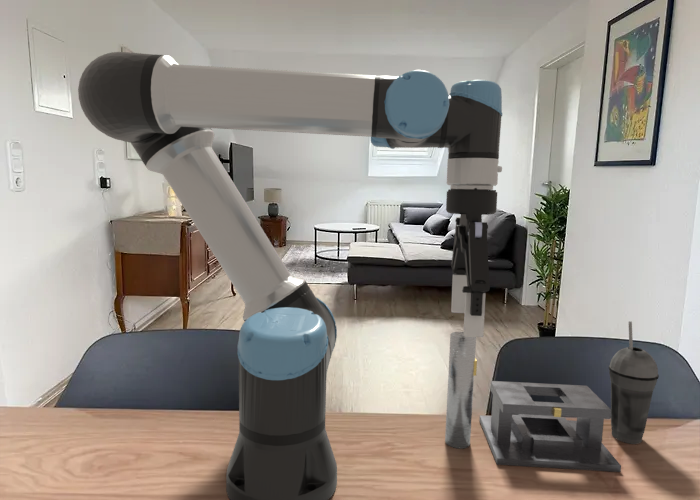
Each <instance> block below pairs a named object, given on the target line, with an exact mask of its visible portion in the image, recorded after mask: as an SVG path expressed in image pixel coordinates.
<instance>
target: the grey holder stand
mask: <svg viewBox="0 0 700 500" xmlns="http://www.w3.org/2000/svg"><path fill="white" fill-rule="evenodd" d="M489 390H490V392H491V394H492V403H491V415H479V420H478V421H479V423H480V426H481V428H482V431H483V434H484V436H485V438H486V441H487V444H488V445H489V449H490V451H491V453H492V456H493V459H494V461H495V463H496V465H498V466H499V465H500V466H502V465H503V466H515V467H533V468H534V467H535V468H547V469H567V470H580V471H581V470H582V471H583V470H584V471H585V470H586V471H597V472H600V471H601V472H610V473H611V472H614V473H622V465H621V463H620V462H619V461H618V460H617V458H616V457H615V456H614V455H613V454H612V453H611V452H610V451H609V450H608V448H607V447H606V446H605V444H604V443H603V435H604V434H603V432H604V423H605V422H604V421H605V420H611V407H609V406H608V405H607V404H606V402H604V401H603V399H601V398H600V397H599V396H598V395H597V394H596V393H595V392H594V391H593V390H592V388H590V387H589V386H588V385H579V384H578V385H577V384H560V383H559V384H558V383H542V382H541V383H538V382H522V381H521V382H519V381H498V380H490V388H489ZM531 396H544V397H559V398H560V400H561V401H563V402H555V401H554V402H553V401H552V402H551V401H534V400H533V398H532V397H531ZM566 417H568V418H576V420H572V419H571V420H569V419H567V418H566Z"/></svg>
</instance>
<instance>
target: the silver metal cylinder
mask: <svg viewBox="0 0 700 500" xmlns="http://www.w3.org/2000/svg"><path fill="white" fill-rule="evenodd" d="M449 335H450V336H449V338H450V339H449V353H448V354H449V355H448V357H449V359H448V375H447V376H448V377H447V394H446V395H447V396H446V398H447V399H446V415H445V433H444V434H445V438H444V442H445V444H446V445H447V446H449V447H452V448H454V449H458V450H459V449H460V450H461V449H467V448H469V447H470V445H471V433H472V417H473V401H474V400H473V399H474V395H473V394H474V386H475V385H474V381H475V376H477V370H478V369H477V368H478V367H477V366H478V360H477V358H476V348H477V347H476V345H477V337H464V331H453V332H450V334H449Z"/></svg>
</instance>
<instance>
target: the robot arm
mask: <svg viewBox="0 0 700 500" xmlns="http://www.w3.org/2000/svg"><path fill="white" fill-rule="evenodd" d="M77 93H78V100H79V105H80V107H81V110H82V112H83V114H84V115H85V117H86V118H87V120H88V121H89V122H90V124H91V125H92V126H93V127H94V128H95V129H97V130H98V131H99V132H101V133H103V134H104V135H106V136H107V137H109V138H111V139H115V140H118V141H121V142H125V143H130V144H131V146H132V147H133V149H134V150H135V152H136V153H137V156H138V157H139V158H140V159H141V161H142V163H143V165H144V167H146V168H147V171H149V172H152V173H153V172H154V173H157V174H160V175H162V176H163V177H164V178H165V180H166V182H167V183H168V185H169V186H170V187H171V189H172V191H173V193H174V194H175V196H176V197H177V199H178V200H179V202H180V204H181V205H182V207H183V208H184V210H185V211H186V213H187V215H188V216H189V218H190V219H191V220H192V223H193V224H194V226H195V227H196V229H197V230H198V232H199V234H200V235H201V237H202V239H203V240H204V242H205V243H206V245H207V246H208V248H209V249H210V251H211V253H212V254H213V255H214V257H215V258H216V260H217V261H218V264H219V265H220V267H221V268H222V270H223V271H224V273H225V275H226V276H227V278H228V279H229V281H230V282H231V283H232V285H233V287H234V289H235V290H236V292H237V293H238V295H239V296H240V298H241V300H242V301H243V302H244V310H243V314H242V320H243V321H244V322H243V323H242V325H241V327H240V329H239V334H238V335H239V336H238V340H237V341H238V342H237V346H236V347H237V351H236V352H237V358H238V408H239V409H238V414H239V415H238V416H239V418H238V423H239V424H238V425H239V426H238V427H239V432H238V436H237V437H236V441H235V444H234V447H233V450H232V453H231V457H230V459H229V462H228V465H227V468H226V476H225V477H226V478H225V481H226V482H225V483H226V484H225V485H226V490H225V491H226V494H227V497H228V499H229V500H330V499H331V498H332V496H333V494H334V493H335V492H336V489H337V485H338V465H337V461H336V457H335V454H334V451H333V449H332V446H331V445H332V444H331V442H330V438H329V436H328V432H327V430H326V415H327V414H326V413H327V412H326V411H327V410H326V408H327V407H326V403H327V375H328V374H327V373H328V370H329V365H330V362H331V358H332V355H333V352H334V349H335V346H336V343H337V337H338V335H337V334H338V333H337V329H338V328H337V325H336V319H335V317H334V315H333V314H334V313H333V312H332V310H331V309H330V308H329V306H328V305H327V304H326V303H325V301H323V300H321V299H320V298H318V297H316V295H315V294H314V292H313V291H312V289H311V287H310V285H309V284H308V283H307V281H306V280H305V278H301V277H296V276H294V275H292V274H291V273H290V271H289V269H288V268H287V267H286V265H285V263H284V262H283V260H282V258H281V257H280V255H279V254H278V252H277V250H276V249H275V247H274V246H273V244H272V242H271V240H270V238H268V236H267V234H266V233H265V230H264V229H263V228H262V226H261V225H260V222H259V221H258V220H257V218H256V216H255V215H254V213H253V211H252V210H251V209H250V206H248V203H247V202H246V200H245V199H244V197H243V196H242V194H241V193H240V191H239V190H238V188H237V186H236V185H235V182H234V181H233V180H232V178H231V176H230V175H229V173H228V171H227V170H226V169H225V167H224V165H223V163H222V161H220V158H219V157H218V155H217V154H216V152H215V151H214V148H213V143H214V139H215V132H214V130H213V129H217V130H218V129H219V130H236V131H237V130H240V131H256V132H257V131H258V132H260V131H261V132H262V131H263V132H272V133H273V132H274V133H275V132H278V133H291V134H292V133H295V134H297V133H298V134H315V135H328V136H329V135H331V136H334V135H335V136H350V137H369V138H370V143H371V144H372V146H374V147H377V148H389V149H392V150H394V149H397V148H398V149H399V148H401V149H402V148H405V149H406V148H408V149H409V148H411V149H412V148H413V149H415V148H423V149H424V148H437V149H443V148H444V149H445V148H447V152H448V156H447V165H446V166H447V168H446V184H447V185H448V186H450V189H448V190H447V191H446V203H445V206H446V207H445V210H446V212H447V213H448V214H453V215H459V216H456V218H455V228H454V230H455V231H454V238H453V241H454V242H453V249H452V255H451V256H452V257H451V263H450V266H451V269H452V270H451V271H452V280H451V281H452V282H451V284H452V285H451V304H450V305H451V308H450V309H451V310H450V311H451V313H455V314H464V317H463V319H464V320H463V332H464V337H476V338H484V335H485V333H484V331H485V313H486V296H487V295H486V294H487V292H489V291H490V289H491V285H490V269H489V268H490V267H489V265H490V264H489V251H488V250H489V249H488V248H489V246H488V229H489V225H488V222H485V221H484V222H483V218H482V217H483V215H486V216H489V215H495V214H496V212H497V207H498V205H497V204H498V192H497V190H496V189H494V187H496V186H497V185H498V180H499V178H498V177H499V173H502V172H503V167H502V166H501V165H499V163H500V162H499V158H500V141H501V129H502V127H501V126H502V117H503V112H502V111H503V107H502V106H503V105H502V102H503V100H502V88H501V86H500V85H499V84H498V83H497V82H495V81H492V80H488V79H487V80H486V79H473V80H461V81H457V82H455V83H454V84H452V85H451V88H450V93H449V92H448V89H447V87H446V85H445V84H444V82H443V80H442V79H440V78H439V77H438V76H437V75H436V74H433V72H430V71H427V70H423V69H422V70H421V69H415V70H414V69H413V70H410V71H407V72H405V73H403V74H401V75H397V76H395V75H375V74H374V75H373V74H372V75H371V74H356V73H354V74H353V73H340V72H321V71H302V70H288V69H287V70H283V69H269V68H267V69H265V68H251V67H250V68H248V67H247V68H246V67H229V66H228V67H226V66H213V65H212V66H210V65H197V64H196V65H195V64H194V65H193V64H179V63H178V62H176V60H175V59H174V57H172V56H170V55H167V54H166V55H165V54H150V53H141V52H140V53H139V52H129V51H127V52H126V51H114V52H112V51H111V52H108V53H104V54H102V55H100V56H97V57H96V58H94V59H93V60H92V61H91V62H90V63H88V65H86V67H85V68H84V70H83V72H82V73H81V76H80V79H79V82H78V88H77Z"/></svg>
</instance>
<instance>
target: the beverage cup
mask: <svg viewBox="0 0 700 500" xmlns="http://www.w3.org/2000/svg"><path fill="white" fill-rule="evenodd" d="M633 345H634V343H633V322H632V321H628V347H624V348H621V349H619V350H617V352H615V353H614V355H613V356H612V358H611V360H610V363H609V365H608V370H609V371H608V372H609V380H610V409H611V417H610V427H611V436H612V437H613V438H614V439H616V440H618V441H620V442H623V443H625V444H631V445H637V444H639V445H640V444H641V443H642V441H643V438H644V433H645V431H646V425H647V422H648V421H647V420H648V416H649V412H650V406H651V404H652V403H651V402H652V397H653V392H654V390H655V389H656V385H657V382H658V380H659V377H660V375H659V369H658V365H657V362H656V361H655V359H654V357H653V356H652V355H651V354H650V353H649V351H648V352H647V351H646V350H644V349H642V348H640V347H636V346H633Z"/></svg>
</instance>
